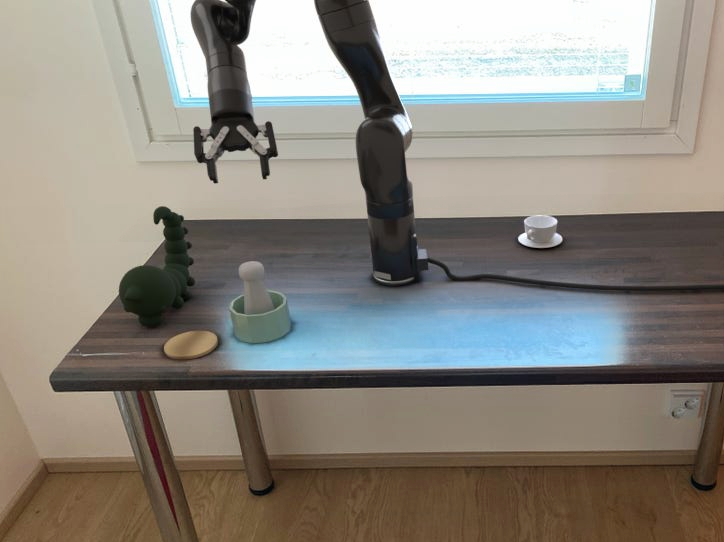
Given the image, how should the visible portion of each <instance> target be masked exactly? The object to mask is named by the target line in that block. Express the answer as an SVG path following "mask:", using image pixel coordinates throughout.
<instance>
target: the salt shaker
mask: <svg viewBox="0 0 724 542" xmlns="http://www.w3.org/2000/svg"><path fill="white" fill-rule="evenodd" d="M238 275H239V278H240V279H241V280H243V294H244V311H245V315H255V314H263V313H267V312H270V311H273V310H275V308H274V305H273V303H272V301H271V298H270V296H269V294H268V291H267V290H268V289H267V287H266V284H265V283H264V280H263V277H264V276H265V267H264V265H263V264H262V262H260V261H256V260H253V261H246V262H243V263H242V264H240V265H239V267H238Z"/></svg>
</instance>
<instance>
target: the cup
mask: <svg viewBox="0 0 724 542" xmlns="http://www.w3.org/2000/svg"><path fill="white" fill-rule="evenodd" d="M267 291H268V294H269V296H270V298H271V301H272V303H273V305H274V308H275V310H273V311H270V312H267V313H263V314H255V315H245V311H244V293H243V294H240V295H239V296H237V297H236V298H234V299H233V300H231V301H230V303H229V307H228V310H229V315H230V319H231V323H232V327H233V333H234V336H235V337H237V339H238V340H239V341H240V342H245V343H249V344H264V343H269V342H273V341H275V340H278V339H281V338H283V337H284V336H285V335H287V334H288V333H289V332H290V331H291V327H292V320H291V314H290V309H289V303H288V297H287V296H286V295H284V294H283V293H282V292H281V291H276V290H270V289H267Z"/></svg>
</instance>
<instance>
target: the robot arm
mask: <svg viewBox="0 0 724 542" xmlns="http://www.w3.org/2000/svg"><path fill="white" fill-rule="evenodd" d="M256 2H257V0H194V2H193V3H192V5H191V8H190V24H191V27H192V30H193V33H194V36H195V39H196V40H197V42H198V45H199V47H200V49H201V51H202V54H203V57H204V59H205V67H206V75H207V84H206V85H207V87H206V88H207V95H208V104H209V105H208V106H209V114H210V121H211V123H210V127H209V128H203V129H202V128H201V127H200V126H198V125H196V126H194V127H193V130H192V131H193V151H194V152H193V154H194V158H196V159H195V160H196V161H197V163H198V164H203V163H204V164H206V172H207V177H208V179H209V180H210V181H211V182H213V184H215V185H216V184H219V178H218V169H217V164H216V163H217V161H218V160H219V158H222V157H223V155H224V154H225V152H226V151H227V152H228V153H233V152H236V151H239V152H246V151H247V150H248V149H249V150H250V151H251V152H252V153H253V154H254V155H257V157H258V158H259V163H260V173H261V177H262V180H268V177H270V175H271V169H270V159H271V158H277V157H278V156H279V151H278V146H277V141H276V137H275V132H274V127H273V123H272V122H271V121H269V120H268V121H266V122H265V123H264V124H258V125H257V123H256V122H255V114H254V108H253V101H252V100H253V95H252V92H251V86H250V85H251V84H250V82H249V79H248V72H247V63H246V57H245V53H244V51H243V50H242V48H241V47H240V46H239V45H242V44H244V42H246V41H247V39H249V37H250V31H251V24H252V19H253V18H252V17H253V13H254V10H255V5H256ZM313 2H314V3H313V4H314V8H315V12H316V15H317V17H318V21H319V24H320V26H321V29H322V31H323V34H324V37H325V40H326V42H327V45H328V47H329V49H330V50H331V52H332V54H333V55H334V57H335V58H336V60H337V61H338V63H339V64H340V66H341V67H342V68H343V70H344V71H345V73H346V74H347V75H348V77H349V79H350V80H351V82H352V84H353V86H354V88H355V90H356V93H357V96H358V99H359V102H360V105H361V109H362V113H363V117H364V120H363V121H361V122H360V124H359V125H358V127H357V129H356V132H355V152H356V160H357V167H358V173H359V181H360V183H361V187H362V188H363V191H364V193H365V194H364V195H365V203H366V204H365V205H366V213H367V224H368V233H369V234H368V235H369V243H370V252H371V253H370V254H371V262H372V276H373V277H372V278H373V280H374V282H376V283H377V284H379V285H383V286H390V287H391V286H392V287H397V286H398V287H399V286H405V285H407V284H410V283H413V282H419V281H420V272H423V271H429V264H431V265H435V266H438V267H439V268H440V269H442V270H443V271H444V273H445V275H446V277H448V278H449V279H451V280H454V281H457V282H458V281H459V282H460V281H461V282H462V281H463V282H464V281H475V280H482V279H483V280H484V279H485V280H486V279H488V280H499V281H507V282H511V283H513V282H514V283H519V284H528V285H538V286H547V287H556V288H566V289H577V290H578V289H579V290H595V291H616V292H617V291H620V292H621V291H622V292H656V291H657V292H658V291H659V292H660V291H661V292H664V291H665V292H667V291H670V292H671V291H702V290H703V291H704V290H705V291H707V290H724V283H718V284H717V283H716V284H715V283H714V284H713V283H712V284H682V285H679V284H678V285H677V284H675V285H614V284H613V285H612V284H609V285H608V284H591V283H589V284H588V283H577V282H576V283H574V282H563V281H554V280H553V281H552V280H543V279H534V278H527V277H526V278H525V277H517V276H511V275H504V274H496V273H495V274H494V273H477V274H472V275H466V276H465V275H464V276H461V275H456V274H453V273H452V272H451V270H450V268H449V267H448V266H447V265H446V264H445V263H444V262H442V261H440V260H437V259H434V258H432V257H429V256H428V252H427V249H426V248H418V239H417V238H418V237H417V231H416V219H415V218H416V217H415V203H414V188H413V186H414V185H413V183H412V180H411V179H410V178H409V176H408V172H407V160H406V152H407V151H408V149H409V148H410V146H411V144H412V141H413V137H414V136H413V127H412V123H411V121H410V118H409V115H408V113H407V111H406V108H405V106H404V104H403V102H402V99H401V97H400V94H399V93H398V90H397V87H396V84H395V82H394V80H393V77H392V75H391V71H390V67H389V64H388V60H387V56H386V52H385V50H384V46H383V42H382V40H381V37H380V33H379V30H378V27H377V23H376V19H375V15H374V13H373V10H372V6H371V4H370V0H313ZM259 134H262V136H263V138H266V139H267V140H268V145H269V147H267V148H265V147H264V146H263V145H262V143H260V141H259V140H258V139H257V137H258V136H259ZM209 137H210V138H211V139H212V140H213V141H212V143H211V145H210V148H209V149H208V151H207V152H205V151H204V148H205V147H204V143H206V142H207V141H208V138H209Z"/></svg>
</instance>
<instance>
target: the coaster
mask: <svg viewBox="0 0 724 542" xmlns="http://www.w3.org/2000/svg"><path fill="white" fill-rule="evenodd" d="M218 343H219V340H218V336H217V335H216V334H215V333H213V332H212V331H208V330H190V331H185V332H182V333H179V334H177V335H175V336H173V337H171V338H170V339H168V341H166V342H165V344H164V346H163V351H164V354H165V356H167V357H169V358H170V359H173V360H182V361H183V360H192V359H196V358H200V357H203V356H205V355H208V354H209V353H211V352H212V351H214V350H215V349H216V348H217V346H218Z"/></svg>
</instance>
